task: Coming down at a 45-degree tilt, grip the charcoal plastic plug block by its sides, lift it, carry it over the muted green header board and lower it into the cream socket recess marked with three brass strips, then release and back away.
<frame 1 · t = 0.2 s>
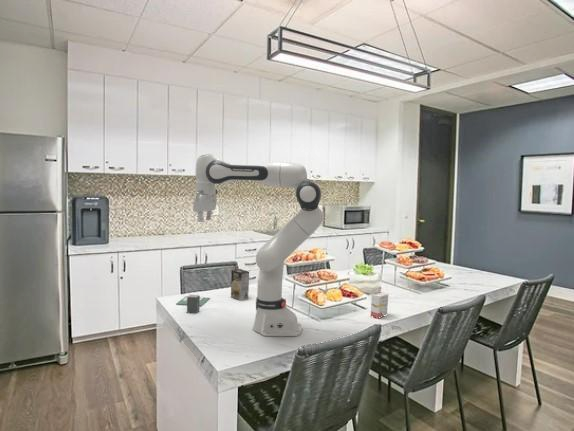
hand: (204, 221, 169), 48 cm above the table, tool pointing down, fingers open, 8 cm apart
ink cartridge box: (378, 316, 190), on the table
plug: (193, 312, 187), on the table
coffee box: (239, 298, 213), on the table
header board: (193, 301, 204), on the table
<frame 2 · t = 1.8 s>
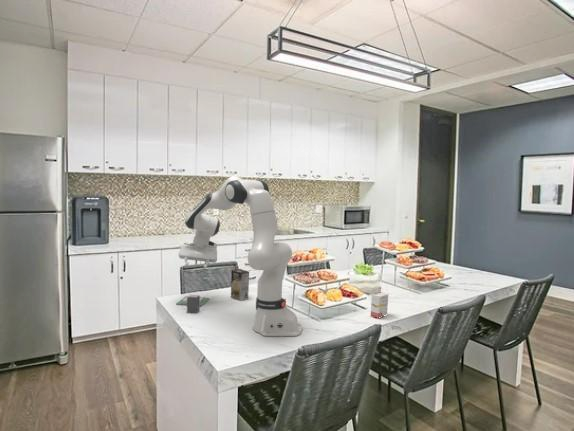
hand: (195, 267, 194), 21 cm above the table, tool tilted 40°, fingers open, 8 cm apart
nothing on the table moved.
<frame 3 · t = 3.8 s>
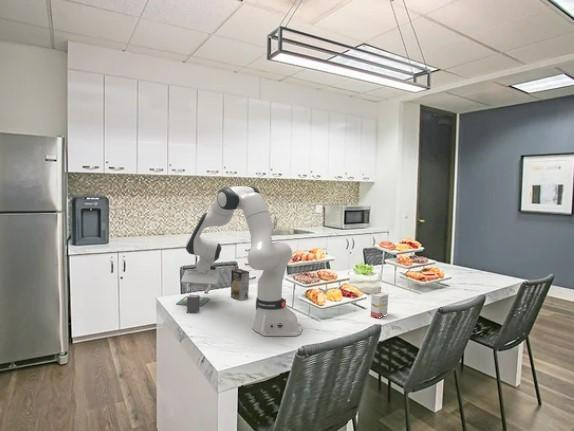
hand: (197, 292, 191), 9 cm above the table, tool tilted 45°, fingers open, 8 cm apart
nothing on the table moved.
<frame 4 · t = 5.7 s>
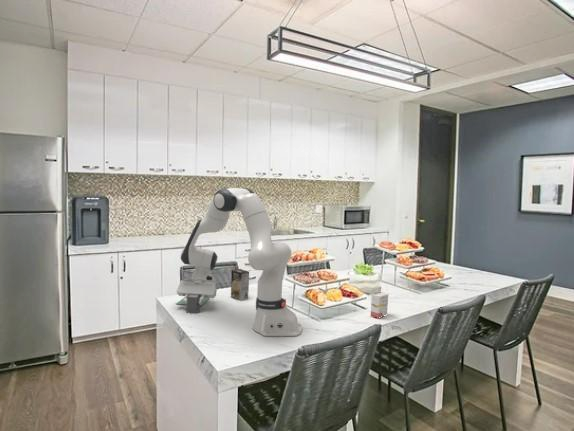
hand: (192, 303, 186), 4 cm above the table, tool tilted 45°, fingers closed on plug, 5 cm apart
plug: (193, 311, 187), on the table, touching gripper
everything else where it was.
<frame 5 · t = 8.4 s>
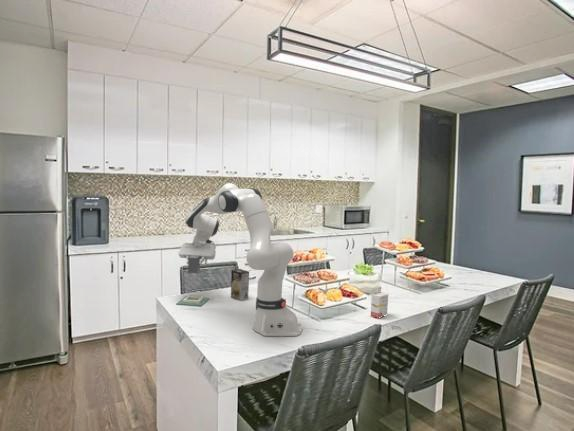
hand: (193, 264, 201), 21 cm above the table, tool tilted 45°, fingers closed on plug, 5 cm apart
plug: (193, 271, 202), point 17 cm above the table, touching gripper
everything else where it was.
when the fingers open (6 cm above the table, at t = 11.4 s): plug drops 1 cm, resting on header board.
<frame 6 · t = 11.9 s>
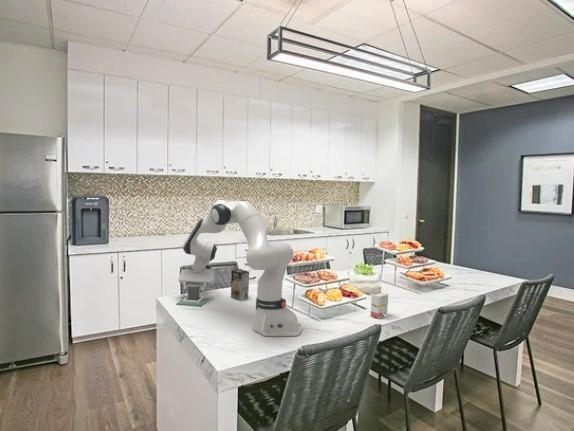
hand: (193, 290, 202), 6 cm above the table, tool tilted 45°, fingers open, 8 cm apart
plug: (193, 300, 203), point 1 cm above the table, touching header board
everything else where it was.
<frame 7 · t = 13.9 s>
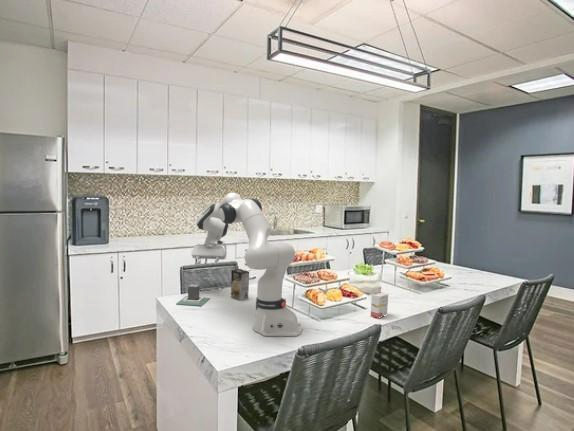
hand: (206, 264, 212), 19 cm above the table, tool tilted 45°, fingers open, 8 cm apart
nothing on the table moved.
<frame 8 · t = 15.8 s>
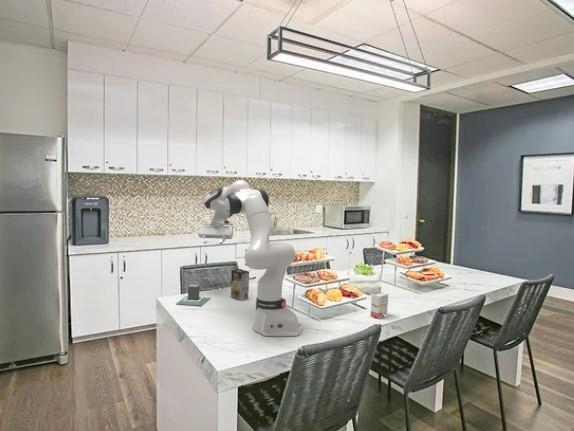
hand: (212, 243, 211), 31 cm above the table, tool tilted 45°, fingers open, 8 cm apart
nothing on the table moved.
at the end: plug 0.1 cm off-centre on the header board, point 0.7 cm above the header board's base; plug tilted 0°; the gripper is holding nothing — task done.
